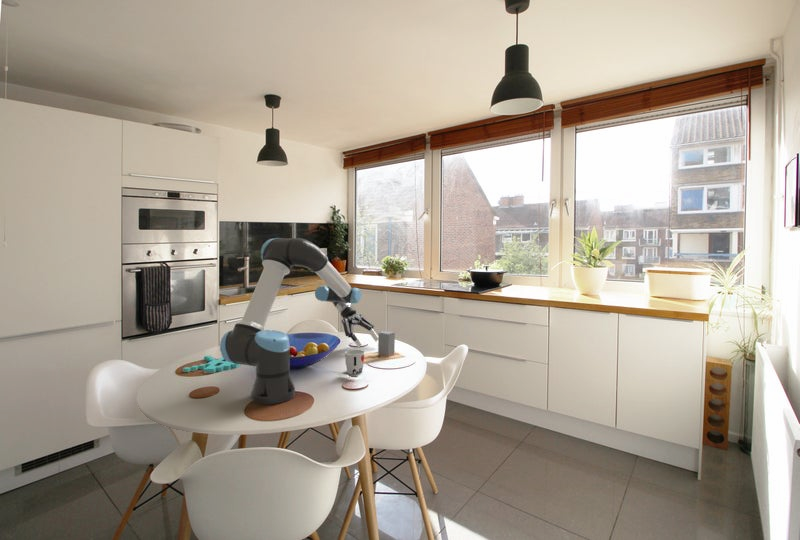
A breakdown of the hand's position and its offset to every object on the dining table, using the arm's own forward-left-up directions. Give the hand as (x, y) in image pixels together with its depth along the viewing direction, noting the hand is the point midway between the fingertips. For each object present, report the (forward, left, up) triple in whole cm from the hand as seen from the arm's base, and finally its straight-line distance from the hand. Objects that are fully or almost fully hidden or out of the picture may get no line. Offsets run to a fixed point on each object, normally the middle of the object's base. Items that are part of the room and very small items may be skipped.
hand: (369, 342), depth 200 cm
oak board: (-10, +1, -6) cm, 11 cm away
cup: (-25, +19, -6) cm, 32 cm away
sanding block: (-9, -4, -4) cm, 11 cm away
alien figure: (+19, +67, -7) cm, 70 cm away
